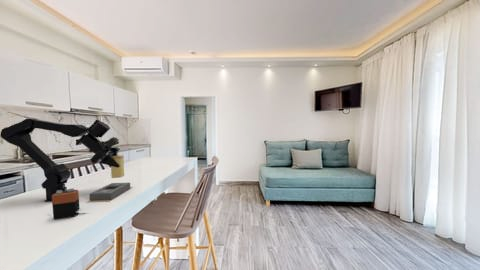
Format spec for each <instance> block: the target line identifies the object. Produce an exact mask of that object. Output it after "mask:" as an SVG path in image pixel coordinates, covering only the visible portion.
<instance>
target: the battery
mask: <svg viewBox="0 0 480 270" xmlns="http://www.w3.org/2000/svg"><path fill="white" fill-rule="evenodd" d="M79 196H80V195H79V190H78V189H75V188H67V191H62V190H59V191H57V192H56V193H55V194H53V195H52V201H51V204H52V216H53V220H59V219H60V220H62V219H67V218H74V217H77V215H78V214H79V212H78V211H79V210H80V209H81V208H80V197H79Z"/></svg>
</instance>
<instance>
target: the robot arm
mask: <svg viewBox="0 0 480 270" xmlns="http://www.w3.org/2000/svg"><path fill="white" fill-rule="evenodd" d="M36 129H37V130H38V129H39V130H45V131H51V132H57V133H60V134H63V135H65V136H67V137H71V138H77V137H78V139H75V146H80V145H83V146H84V147H86V148H87V149H88V152H89V153H93V154H94V155H93V156H91V158H90V162H91V163H92V164H93V165H96V164H98V163H99V164H101V165H106V166H110V167H111V166H113V167H117V168H119V167H120V165H119V164H118V163H117V162H116V161H115V160H114V159H113V158H112V156H118V153H119V151H120V150H121V148H120V147H118V146H115V145H119V144H120V142H119V139H118V138H117V137H115V136H112V137H111V138H109V139H108V140H106V141H103V140H102V141H101V140H99V139H98V138H103V136H104V135H105V134H107V133H108V131H109V130H110V129H111V127H110V126H109V125H108V124H107V123H105V122H103V121H102V120H100V119H96V120H95V121H94V122H93V123H92V124H91V125H90V126H85V125H84V124H68V123H67V124H65V123H59V122H55V121H54V122H52V121H48V120H42V119H38V118H28V117H27V118H25V119H23V120H22V121H20V122H17V123H14V124H12V125H10V126H7V127H4V128H2V129H1V131H0V137H1V139H3V140H4V141H5V142H7V143H9V144H10V145H13V146H16V147H18V148H19V149H20V150H21V151H23V153H25V155H27V156H28V157H29V158H30V159H31V160H32V161H33V162H35V163H36V165H38V166H39V167H40V168H41V169H42V170H43V173H44V177H45V178H46V179H45V180H44V181H43V182H42V183H41V184H40V185H41V187H42V189H43V190H44V189H45V200H44V202H45V203H47V202H52V195H53V194H55V193H56V192H57V191H59V190H62V191H67V189H68V188H67V186H66V184H67V183H68V180H69V179H70V177H71V171H70V168H68V167H67V166H66V165H65V164H64V163H56V162H55V161H53V160H52V158H50V157H49V156H48V155H47V153H45V152H44V151H43V150H42V149H41V148H40V147H38V145H37V144H36V143H35V142H34V141H33V140H32V136H31V133H33V132H34V131H35V130H36ZM99 160H100V162H99Z"/></svg>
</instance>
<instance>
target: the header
mask: <svg viewBox="0 0 480 270" xmlns="http://www.w3.org/2000/svg"><path fill="white" fill-rule="evenodd" d="M133 188H134V187H133V186H131V182H111V183H109V184H107V185H105V186H103V187H100V188H99V189H97V190H95V191H92V192H90V193H89V200H87V201H85V204H87V203H89V204H90V203H110V202H112V201H113V200H114V199H116V198H118V197H120V196H122V195H123V194H124V193H127V192H128V191H130V190H131V189H133Z"/></svg>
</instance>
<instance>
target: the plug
mask: <svg viewBox="0 0 480 270" xmlns="http://www.w3.org/2000/svg"><path fill="white" fill-rule="evenodd" d="M112 158H113V159H114V160H115V161H116V162H117V163H118V164H119V165H120V167H119V168H117V167H113V166H110V171H111V172H110V175H111V179H117V178H123V177H125V162H124V155H117V156H112Z"/></svg>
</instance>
